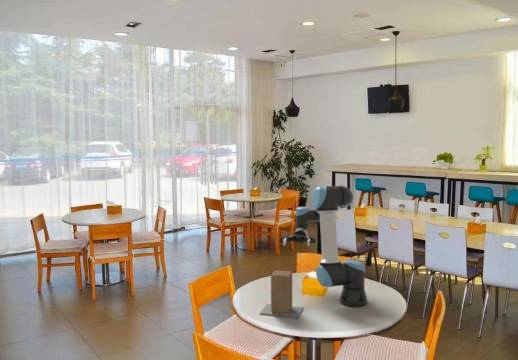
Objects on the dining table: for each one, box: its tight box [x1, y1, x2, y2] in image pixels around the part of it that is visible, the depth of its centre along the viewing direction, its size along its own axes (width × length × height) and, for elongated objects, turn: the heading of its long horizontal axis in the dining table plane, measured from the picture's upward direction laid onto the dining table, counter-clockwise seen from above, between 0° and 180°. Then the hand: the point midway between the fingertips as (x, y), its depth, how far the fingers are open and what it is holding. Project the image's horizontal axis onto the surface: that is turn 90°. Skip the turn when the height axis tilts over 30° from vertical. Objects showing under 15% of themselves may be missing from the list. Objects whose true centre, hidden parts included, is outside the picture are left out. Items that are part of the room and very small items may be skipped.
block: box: [270, 270, 293, 314], centre depth 246 cm, size 10×10×20 cm
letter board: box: [259, 303, 304, 319], centre depth 247 cm, size 20×14×1 cm
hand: (296, 243), depth 263 cm, fingers open, 13 cm apart
